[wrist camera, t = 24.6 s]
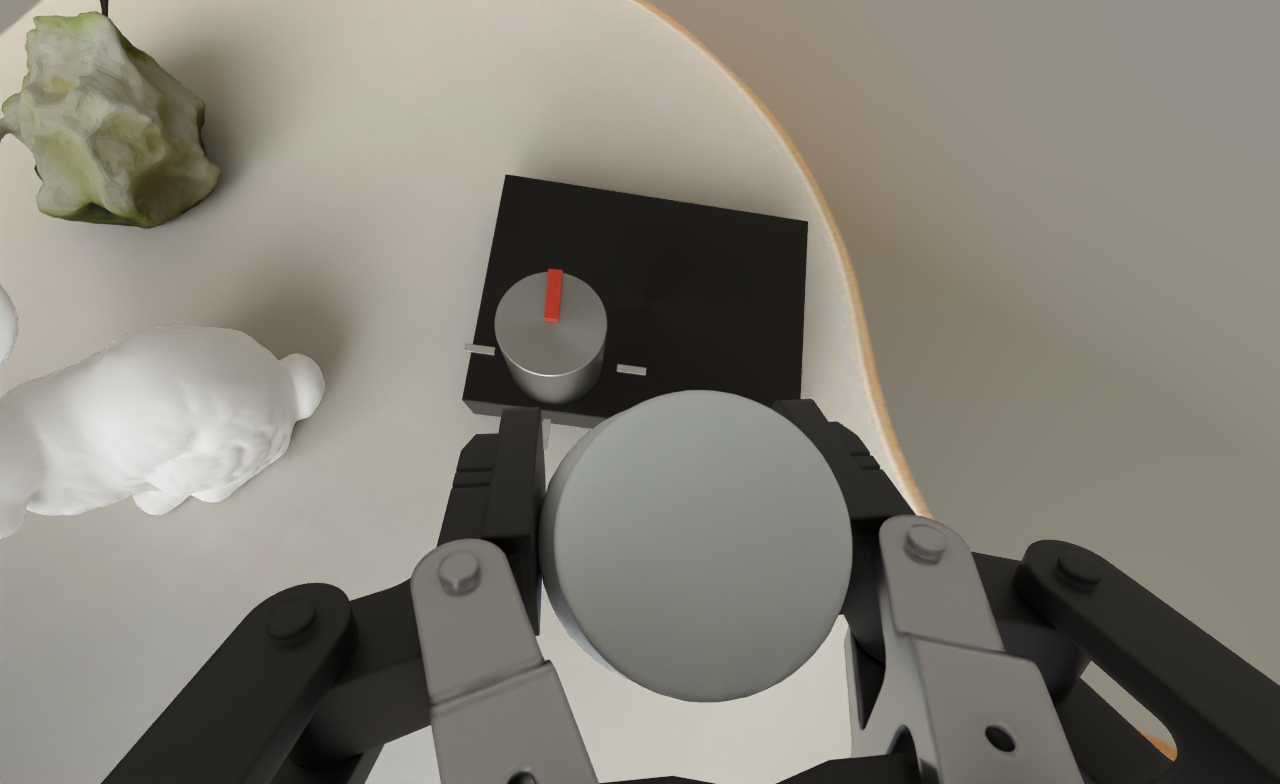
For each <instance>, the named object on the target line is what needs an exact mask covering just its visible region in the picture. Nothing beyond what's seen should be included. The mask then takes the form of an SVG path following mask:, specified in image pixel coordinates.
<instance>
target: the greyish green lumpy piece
mask: <svg viewBox="0 0 1280 784" xmlns="http://www.w3.org/2000/svg"><path fill="white" fill-rule="evenodd" d="M100 3H101V8H102V14H101V13H98V12H88V13H80V14H79V15H78V16H77V17H64V16H36V17H35V18H34V23H35V25H36V28H37V29H33V30H31V31H29V32H28V33H27V43H26V45H25V49H26V51H27V55H28V60H27V67H28V69H29V73H28V74H27V76H25V77H24V79H23V84H22V90H21V92H20V93H18V94H14V95H12V96H11V97H9V98H8V99H7V100H6V101H5V102H4V104H3V105H2V111H3V114H4V116H5V117H4V118H2V119H0V142H1V139H2V138H3V137H4V136H5V135H6V134H8V133H11V134H13V135H14V136H15V137H16V138H17V139H19V140H20V141H21V142H22V143H24V144H25V145H26V146H27V147H28V148H29V149H30V151H31V152H32V153H33V156H34V158H35V161H36V165H35V168H34V169H35V171H36V173H37V175H38V176H39V178H40V179H41V180H42V181H43V184H42V186H41V188H40V190H39V192H38V194H37V196H36V201H37V206H38V208H39V211H41V212H42V213H43V214H46V215H49V216H52V217H54V218H61V219H64V220H69V221H82V222H89V223H96V224H112V225H125V226H136V227H140V228H152V227H155V226H158V225H161V224H164V223H166V222H168V221H170V220H172V219H174V218H176V217H178V216H180V215H181V214H183V213H185V212H186V211H188V210H189V209H191V208H192V207H194V206H196V205H197V204H199V203H200V202H201V201H203V200H204V199H206V198H207V197H208V196H209V195H210V194H211V193H212V192H213V190H214V188H215V186H216V184H217V182H218V180H219V177H220V174H221V173H220V169H219V167H218V166H216V165H215V164H214V163H212V162H211V161H209V160H208V159H207V158H206V152H205V148H204V144H203V141H202V139H201V129H202V127H203V125H204V123H205V103H204V102H203V100H201V99H200V98H199V97H197V96H196V95H195V94H194V93H192V92H191V91H189V90H188V89H187V88H185V87H184V86H183V85H182V84H181V83H180V82H178V81H177V80H176V79H174V78H173V77H172V76H170V75H169V74H168V73H167V72H165V71H164V69H163V68H162V67H160V66H159V65H158V63H157V62H156V61H155V60H154V59H153V58H152V57H151V56H149V55H148V54H146V53H145V52H143V51H141V50H139V49H137V48H136V47H134V46H133V45H132V44H131V43H130V42H129V41H128V39H127V38H125V37H124V36H123V35H122V33H121V32H120V31H119V29H118V28H117V27H116V26H115V25H114V23H113V22H112V21H111V19H109V18H108V0H100Z"/></svg>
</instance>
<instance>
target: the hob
mask: <svg viewBox="0 0 1280 784" xmlns="http://www.w3.org/2000/svg"><path fill="white" fill-rule="evenodd" d="M807 235H808V222H807V221H802V220H795V219H789V218H782V217H776V216H770V215H763V214H757V213H750V212H744V211H738V210H731V209H725V208H718V207H712V206H706V205H699V204H693V203H686V202H680V201H674V200H667V199H661V198H654V197H648V196H642V195H635V194H629V193H622V192H616V191H609V190H603V189H597V188H590V187H584V186H577V185H571V184H565V183H558V182H552V181H545V180H539V179H533V178H526V177H520V176H513V175H507V174H506V175H505V180H504V185H503V191H502V196H501V201H500V206H499V211H498V217H497V222H496V227H495V232H494V237H493V242H492V248H491V253H490V258H489V263H488V268H487V273H486V279H485V284H484V289H483V294H482V299H481V305H480V310H479V315H478V320H477V325H476V330H475V336H474V341H473V344H465V348H464V351H465V352H471V356H470V362H469V367H468V372H467V377H466V382H465V387H464V393H463V398H462V400H463V401H464V402H465V404H466V405H467V406H468V407H469V408H470V410H471V411H472V412H473V413H475V414H483V415H491V416H499V417H501V416H502V410H503V408H529V407H540V409H541V418H542V422H543V423H542V433H543V448H544V450H547V444H548V438H549V431H550V425H551V423H554V424H561V425H569V426H577V427H585V428H594V427H596V426H597V425H598V424H600V423H602V422H603V421H605V420H606V419H608V418H610V417H612V416H614V415H616V414H618V413H620V412H622V411H625V410H627V409H630V408H632V407H634V406H636V405H638V404H640V403H642V402H644V401H646V400H649V399H652V398H655V397H658V396H661V395H665V394H669V393H675V392H681V391H687V390H709V391H718V392H724V393H730V394H735V395H738V396H741V397H744V398H747V399H750V400H753V401H755V402H757V403H760V404H762V405H764V406H766V407H768V408H770V409H771V407H772V404H773V403H774V401H776V400H795V399H800V398H801V374H802V351H803V328H804V305H805V281H806V258H807ZM549 269H558V270H563V273H565V274H568V275H571V276H574V277H576V278H578V279H580V280H582V281H583V282H585V283H586V284H587V285H589V286H590V287H591V288H592V289H593V290H594V291H595V292H596V294H597V295H598V296H599V298H600V299H601V301H602V303H603V306H604V308H605V311H606V315H607V334H606V342H605V350H604V357H603V365H602V370H601V374H600V377H599V379H598V381H597V382H596V384H595V385H594V387H593V388H592V389H591V390H590V391H589V392H588V393H587V394H586V395H584V396H583V397H582V398H580V399H578V400H576V401H573V402H571V403H567V404H561V405H551V404H545V403H541V402H538V401H536V400H534V399H532V398H530V397H529V396H527V395H526V394H525V393H523V392H522V391H521V390H520V388H519V387H518V386H517V385H516V383H515V381H514V379H513V377H512V375H511V372H510V370H509V368H508V365H507V363H506V360H505V358H504V356H503V353H502V351H501V348H500V346H499V344H498V341H497V338H496V334H495V316H496V311H497V308H498V305H499V303H500V301H501V299H502V298H503V296H504V295H505V293H506V292H507V291H508V290H509V289H510V288H511V287H512V286H513V285H514V284H516V283H517V282H519V281H520V280H522V279H524V278H526V277H528V276H531V275H533V274H537V273H542V272H548V270H549Z"/></svg>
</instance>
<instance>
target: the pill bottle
mask: <svg viewBox="0 0 1280 784" xmlns="http://www.w3.org/2000/svg"><path fill="white" fill-rule="evenodd" d="M538 558H539V565H540V571H541V575H542V579H543V583H544V587H545V589H546V592H547V595H548V598H549V600H550V603H551V605H552V607H553V609H554V611H555V613H556V615H557V617H558V618H559V620H560V622H561V623H562V625H563V626H564V628H565V629H566V631H567V633H568V634H569V635H570V636H571V638H572V639H573V640H574V641H575V642H576V643H577V644H578V645H579V646H580V647H581V648H582V649H583V650H584V651H585V652H586V653H587V654H588V655H590V656H591V657H592V658H593V659H595V660H596V661H597V662H598V663H600V664H601V665H603V666H604V667H606V668H607V669H609V670H611V671H613V672H615V673H617V674H619V675H621V676H623V677H625V678H627V679H630V680H631V681H633V682H635V683H637V684H639V685H641V686H642V687H645V688H647V689H649V690H651V691H653V692H656V693H658V694H661V695H665V696H669V697H672V698H676V699H680V700H684V701H690V702H722V701H729V700H734V699H739V698H744V697H748V696H751V695H753V694H756V693H758V692H761V691H763V690H765V689H768V688H770V687H771V686H773V685H776V684H778V683H780V682H782V681H783V680H785V679H786V678H787V677H789V676H790V675H792V674H793V673H794V672H795V671H797V670H798V669H799V668H800V667H801V666H802V665H803V664H804V663H805V662H806V661H808V660H809V659H810V658H811V657H812V656H813V654H814V653H815V652H816V651H817V650H818V648H819V647H820V646H821V644H822V643H823V642H824V641H825V639H826V638H827V636H828V635H829V633H830V632H831V629H832V627H833V625H834V623H835V621H836V619H837V617H838V615H839V613H840V611H841V608H842V605H843V603H844V600H845V597H846V593H847V589H848V585H849V580H850V574H851V567H852V535H851V526H850V519H849V514H848V510H847V506H846V503H845V500H844V497H843V495H842V492H841V489H840V487H839V485H838V482H837V480H836V479H835V477H834V475H833V473H832V471H831V469H830V467H829V465H828V464H827V462H826V460H825V459H824V457H823V456H822V454H821V453H820V452H819V450H818V449H817V448H816V447H815V445H814V444H813V443H812V442H811V441H810V440H809V439H808V438H807V437H806V436H805V435H804V434H803V433H802V432H801V431H800V430H799V429H798V428H797V427H796V426H795V425H794V424H793V423H792V422H790V421H789V420H787V419H786V418H784V417H783V416H781V415H780V414H778V413H777V412H775V411H773V410H772V409H770V408H768V407H766V406H764V405H762V404H760V403H757V402H755V401H753V400H750V399H747V398H744V397H741V396H738V395H735V394H730V393H724V392H718V391H709V390H687V391H681V392H675V393H669V394H665V395H661V396H658V397H655V398H652V399H649V400H646V401H644V402H642V403H640V404H638V405H636V406H634V407H632V408H630V409H627V410H625V411H622V412H620V413H618V414H616V415H614V416H612V417H610V418H608V419H606V420H605V421H603V422H602V423H600V424H598V425H597V426H596V427H594V428H593V429H592V430H590V431H589V432H588V433H587V434H586V435H585V436H584V437H583V438H581V439H580V440H579V441H578V442H577V443H576V444H575V445H574V446H573V448H572V449H571V450H570V451H569V452H568V454H567V455H566V456H565V457H564V459H563V460H562V462H561V463H560V465H559V467H558V469H557V470H556V472H555V473H554V475H553V477H552V478H551V480H550V482H549V485H548V489H547V492H546V495H545V497H544V500H543V505H542V509H541V515H540V521H539V528H538Z"/></svg>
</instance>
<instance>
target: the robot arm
mask: <svg viewBox="0 0 1280 784" xmlns="http://www.w3.org/2000/svg"><path fill="white" fill-rule="evenodd" d="M771 409H772V410H773V411H775V412H777V413H778V414H780V415H781V416H783V417H784V418H786V419H787V420H789V421H790V422H792V423H793V424H794V425H795V426H796V427H797V428H798V429H799V430H800V431H801V432H802V433H803V434H804V435H805V436H806V437H807V438H808V439H809V440H810V441H811V442H812V443H813V444H814V445H815V447H816V448H817V449H818V450H819V452H820V453H821V454H822V456H823V457H824V459H825V460H826V462H827V464H828V465H829V467H830V469H831V471H832V473H833V475H834V477H835V479H836V480H837V482H838V485H839V487H840V489H841V492H842V495H843V497H844V500H845V503H846V506H847V510H848V514H849V519H850V526H851V535H852V567H851V574H850V580H849V585H848V589H847V593H846V597H845V600H844V603H843V605H842V608H841V611H840V613H839V615H841V614H844V616H845V618H846V620H847V622H848V624H849V626H848V629H847V632H846V636H845V639H844V648H845V661H846V674H847V686H848V699H849V711H850V724H851V737H852V751H851V758H846V759H836V760H829V761H826V762H824V763H822V764H820V765H817V766H815V767H813V768H810V769H808V770H806V771H804V772H801V773H799V774H797V775H795V776H792V777H790V778H788V779H786V780H783V781H781V782H779V783H776V784H1280V686H1279V685H1278V684H1276V683H1275V682H1273V681H1272V680H1271V679H1270V678H1268V677H1267V676H1265V675H1264V674H1263V673H1261V672H1260V671H1258V670H1257V669H1256V668H1254V667H1253V666H1251V665H1250V664H1249V663H1247V662H1246V661H1245V660H1243V659H1242V658H1241V657H1239V656H1238V655H1236V654H1235V653H1233V652H1232V651H1231V650H1229V649H1228V648H1227V647H1225V646H1224V645H1223V644H1221V643H1220V642H1218V641H1217V640H1216V639H1214V638H1213V637H1212V636H1210V635H1209V634H1207V633H1206V632H1205V631H1203V630H1202V629H1200V628H1199V627H1198V626H1196V625H1195V624H1193V623H1192V622H1191V621H1189V620H1188V619H1187V618H1185V617H1184V616H1182V615H1181V614H1180V613H1178V612H1177V611H1176V610H1174V609H1173V608H1171V607H1170V606H1169V605H1167V604H1166V603H1164V602H1163V601H1162V600H1160V599H1159V598H1158V597H1156V596H1155V595H1154V594H1152V593H1151V592H1149V591H1148V590H1147V589H1145V588H1144V587H1143V586H1141V585H1140V584H1138V583H1137V582H1136V581H1134V580H1133V579H1132V578H1130V577H1129V576H1127V575H1126V574H1125V573H1123V572H1122V571H1120V570H1119V569H1117V568H1116V567H1115V566H1114V565H1112V564H1110V563H1109V562H1108V561H1107V560H1105V559H1104V558H1102V557H1100V556H1099V555H1097V554H1095V553H1093V552H1091V551H1089V550H1087V549H1085V548H1083V547H1080V546H1077V545H1075V544H1071V543H1068V542H1064V541H1058V540H1041V541H1037V542H1035V543H1032V544H1031V545H1030V546H1029V547H1028V549H1027V550H1026V553H1025V554H1024V556H1023V558H1022V560H1021V561H1018V560H1012V559H1007V558H1002V557H995V556H990V555H985V554H980V553H976V552H971V551H970V549H969V547H968V545H967V544H966V542H965V541H964V540H963V539H962V538H961V537H960V536H959V535H958V534H957V533H955V532H954V531H953V530H951V529H950V528H948V527H947V526H945V525H943V524H941V523H939V522H937V521H935V520H932V519H929V518H926V517H922V516H917V515H916V514H915V513H914V512H913V510H912V509H911V508H910V506H909V505H908V503H907V502H906V501H905V499H904V498H903V497H902V495H901V494H900V493H899V491H898V490H897V488H896V487H895V486H894V484H893V483H892V482H891V480H890V479H889V478H888V476H887V475H886V474H885V472H884V471H883V469H881V470H880V465H879V464H878V463H877V461H876V460H875V459H874V457H873V456H870V452H869V450H868V449H867V448H866V446H865V445H864V444H863V442H862V441H861V440H860V438H859V437H858V436H857V435H856V434H855V433H853V432H852V431H850V430H849V429H847V428H846V427H844V426H843V425H842V424H840V423H839V422H828V421H827V419H826V418H825V416H824V415H823V413H822V412H821V410H820V409H819V408H818V406H817V405H816V403H815V402H814V401H813V400H812V399H795V400H776V401H774V403H773V404H772V407H771ZM456 470H457V472H456V473H455V477H454V481H453V488H452V489H451V492H450V496H449V500H448V504H447V508H446V512H445V516H444V520H443V524H442V528H441V532H440V535H439V539H438V543H437V547H436V548H435V549H434V550H432V551H430V552H429V553H428V554H427V555H425V556H424V557H423V558H422V559H421V560H420V562H419V563H418V564H417V566H416V567H415V569H414V571H413V573H412V576H411V578H410V579H408V580H406V581H405V582H403V583H401V584H399V585H397V586H394V587H392V588H389V589H386V590H383V591H380V592H377V593H374V594H371V595H367V596H364V597H361V598H358V599H355V600H351V601H349V599H348V597H347V595H346V594H345V593H344V592H343V591H342V590H341V589H339V588H338V587H335V586H333V585H330V584H325V583H307V584H302V585H297V586H294V587H291V588H288V589H285V590H283V591H280V592H278V593H276V594H275V595H273V596H271V597H269V598H268V599H266V600H265V601H263V602H262V603H260V604H259V605H258V606H257V607H255V608H254V609H253V610H252V611H251V612H250V613H249V614H248V615H247V616H246V617H245V618H244V619H243V621H242V622H241V623H240V624H239V625H238V626H237V627H236V629H235V630H234V631H233V632H232V633H231V634H230V636H229V637H228V638H227V639H226V640H225V641H224V642H223V644H222V645H221V646H220V647H219V648H218V649H217V650H216V652H215V653H214V654H213V655H212V656H211V657H210V659H209V660H208V661H207V662H206V663H205V664H204V665H203V667H202V668H201V669H200V670H199V671H198V672H197V674H196V675H195V676H194V677H193V678H192V679H191V680H190V682H189V683H188V684H187V685H186V686H185V687H184V688H183V690H182V691H181V692H180V693H179V694H178V695H177V697H176V698H175V699H174V700H173V701H172V702H171V703H170V705H169V706H168V707H167V708H166V709H165V710H164V712H163V713H162V714H161V715H160V716H159V717H158V718H157V720H156V721H155V722H154V723H153V724H152V725H151V726H150V728H149V729H148V730H147V731H146V732H145V733H144V735H143V736H142V737H141V738H140V739H139V740H138V741H137V743H136V744H135V745H134V746H133V747H132V748H131V750H130V751H129V752H128V753H127V754H126V755H125V756H124V758H123V759H122V760H121V761H120V762H119V763H118V764H117V766H116V767H115V768H114V769H113V770H112V771H111V773H110V774H109V775H108V776H107V777H106V778H105V779H104V781H103V782H102V783H101V784H364V783H365V781H366V779H367V777H368V775H369V773H370V772H371V770H372V768H373V766H374V764H375V762H376V760H377V758H378V756H379V754H380V752H381V750H382V748H383V746H384V744H385V743H388V742H390V741H393V740H395V739H398V738H400V737H403V736H405V735H407V734H410V733H412V732H415V731H417V730H420V729H422V728H424V727H427V726H429V725H431V726H432V732H433V738H434V744H435V750H436V756H437V762H438V768H439V774H440V780H441V784H714V783H709V782H703V781H698V780H692V779H687V778H681V777H676V776H668V777H658V778H648V779H638V780H628V781H618V782H608V783H599V782H598V779H597V777H596V774H595V772H594V769H593V766H592V764H591V761H590V758H589V756H588V753H587V750H586V748H585V745H584V742H583V740H582V737H581V734H580V732H579V729H578V727H577V724H576V721H575V719H574V716H573V713H572V711H571V708H570V705H569V703H568V700H567V697H566V695H565V692H564V689H563V687H562V684H561V682H560V679H559V676H558V674H557V672H556V669H555V667H554V666H553V664H552V662H551V661H550V660H546V661H545V660H544V658H543V656H542V654H541V651H540V648H539V645H538V643H537V640H536V637H535V636H539V632H540V610H541V587H542V575H541V571H540V565H539V558H538V528H539V521H540V515H541V509H542V505H543V500H544V497H545V495H546V486H545V463H544V448H543V433H542V418H541V409H540V407H529V408H503V410H502V416H501V421H500V427H499V433H497V434H476V435H475V436H474V437H473V438H472V439H471V440H470V442H469V443H468V444H467V445H466V446H465V447H464V448H463V449H462V450H461V453H460V457H459V461H458V465H457V469H456ZM1091 660H1092V661H1093V662H1094V663H1095V664H1096V665H1098V666H1099V667H1100V668H1101V669H1102V670H1103V671H1104V672H1106V673H1107V674H1108V675H1109V676H1110V677H1111V678H1112V679H1113V680H1115V681H1116V682H1117V683H1118V684H1119V685H1120V686H1121V687H1123V688H1124V689H1125V690H1126V691H1127V692H1128V693H1129V694H1130V695H1132V696H1133V697H1134V698H1135V699H1136V700H1137V701H1138V702H1140V703H1141V704H1142V705H1143V706H1144V707H1145V708H1146V709H1148V710H1149V711H1150V712H1151V713H1152V714H1153V715H1154V716H1155V717H1157V718H1158V719H1159V720H1160V721H1161V722H1162V723H1163V724H1164V725H1165V726H1166V728H1167V729H1168V730H1169V732H1170V733H1171V735H1172V737H1173V739H1174V741H1175V743H1176V747H1177V758H1176V760H1175V761H1172V760H1170V759H1169V758H1167V757H1166V756H1165V755H1164V754H1163V753H1161V752H1160V751H1159V750H1158V749H1157V748H1156V747H1155V746H1154V745H1153V744H1152V743H1151V742H1150V741H1148V740H1147V739H1146V738H1145V737H1144V736H1143V735H1142V734H1141V733H1140V732H1139V731H1138V730H1136V729H1135V728H1134V727H1133V726H1132V725H1131V724H1130V723H1128V721H1127V720H1126V719H1124V718H1123V717H1122V716H1121V715H1120V714H1119V713H1118V712H1117V711H1116V710H1115V709H1114V708H1113V707H1111V706H1110V705H1109V704H1108V703H1107V702H1106V701H1105V700H1104V699H1103V698H1102V697H1101V696H1099V695H1098V694H1097V693H1096V692H1095V691H1094V690H1093V689H1092V688H1091V687H1090V686H1089V685H1087V684H1086V683H1085V682H1084V681H1083V680H1082V679H1081V678H1080V676H1081V675H1082V673H1083V672H1084V670H1085V669H1086V667H1087V666H1088V664H1089V663H1090V661H1091Z"/></svg>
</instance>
